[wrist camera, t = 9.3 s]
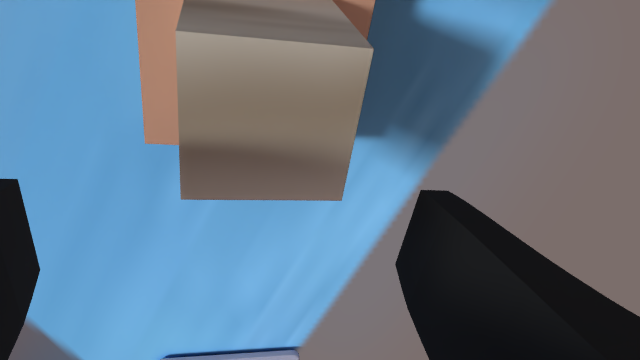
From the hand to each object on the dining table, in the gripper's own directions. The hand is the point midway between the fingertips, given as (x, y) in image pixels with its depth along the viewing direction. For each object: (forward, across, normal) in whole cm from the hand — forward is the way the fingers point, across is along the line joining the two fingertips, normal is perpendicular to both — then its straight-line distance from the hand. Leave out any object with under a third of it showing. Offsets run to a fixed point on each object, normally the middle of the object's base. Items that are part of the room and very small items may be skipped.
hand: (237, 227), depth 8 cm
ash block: (+7, -1, -1) cm, 7 cm away
